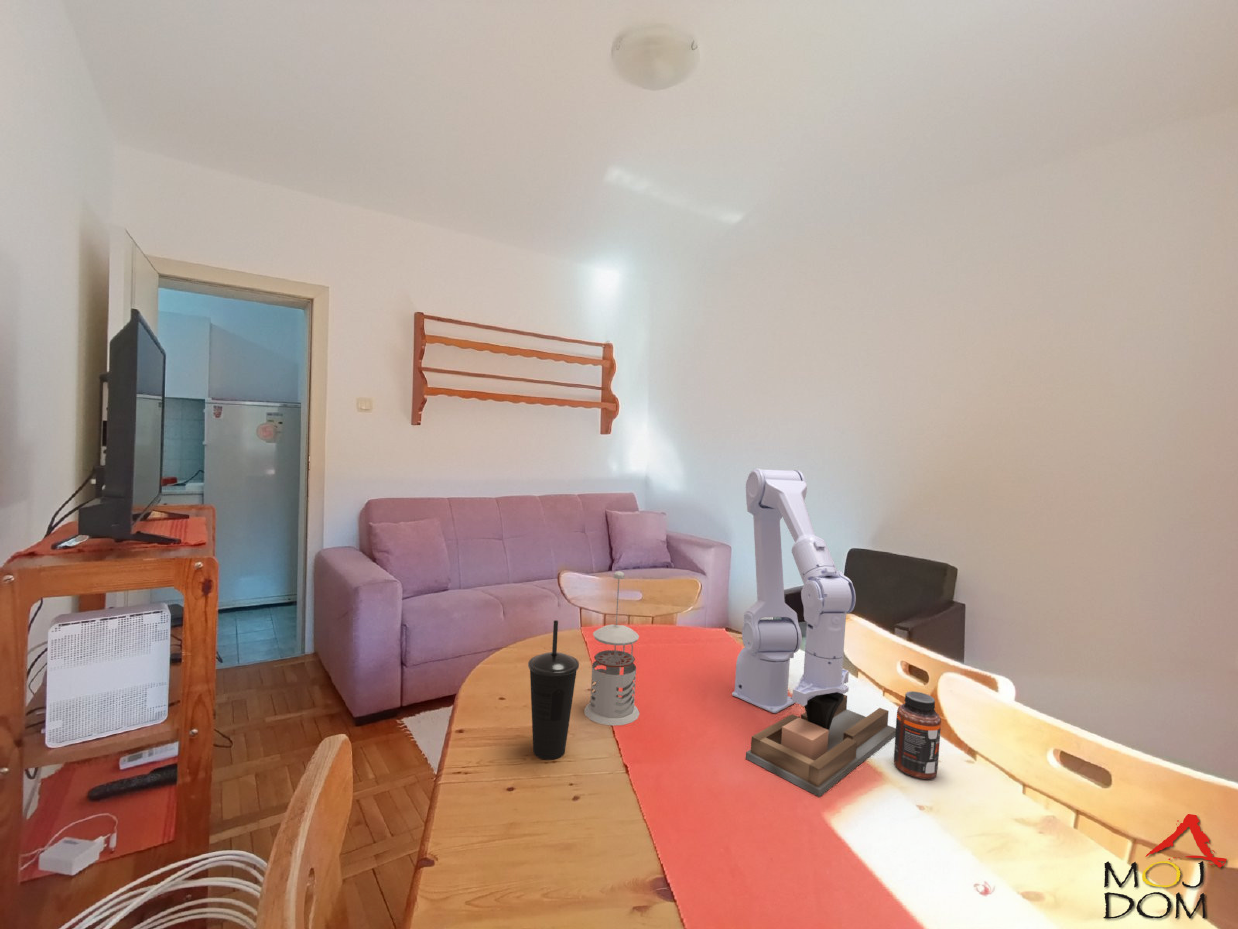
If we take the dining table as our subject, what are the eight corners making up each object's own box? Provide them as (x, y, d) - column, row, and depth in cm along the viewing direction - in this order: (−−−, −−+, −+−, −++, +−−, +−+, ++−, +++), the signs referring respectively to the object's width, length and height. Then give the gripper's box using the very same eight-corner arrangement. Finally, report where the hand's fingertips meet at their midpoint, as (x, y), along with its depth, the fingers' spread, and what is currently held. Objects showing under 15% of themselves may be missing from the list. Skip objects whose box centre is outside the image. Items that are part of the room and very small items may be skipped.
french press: (574, 717, 96) (581, 572, 95) (601, 691, 107) (608, 561, 106) (627, 731, 92) (635, 581, 91) (650, 702, 103) (657, 568, 102)
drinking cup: (583, 746, 87) (590, 619, 86) (557, 771, 80) (564, 633, 79) (541, 733, 90) (547, 610, 89) (513, 756, 83) (520, 623, 82)
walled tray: (745, 758, 86) (746, 736, 86) (829, 708, 104) (831, 689, 104) (819, 797, 77) (820, 772, 77) (896, 734, 96) (898, 714, 96)
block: (780, 752, 86) (782, 727, 86) (797, 742, 89) (798, 717, 89) (810, 767, 82) (812, 740, 82) (826, 755, 86) (828, 730, 86)
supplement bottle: (943, 784, 82) (949, 708, 81) (899, 777, 83) (904, 702, 82) (929, 762, 88) (934, 691, 87) (888, 756, 89) (893, 685, 88)
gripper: (825, 671, 81) (819, 763, 81) (869, 650, 90) (863, 732, 91) (782, 656, 86) (776, 742, 86) (827, 637, 96) (822, 715, 96)
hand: (818, 736), depth 89 cm, fingers closed
